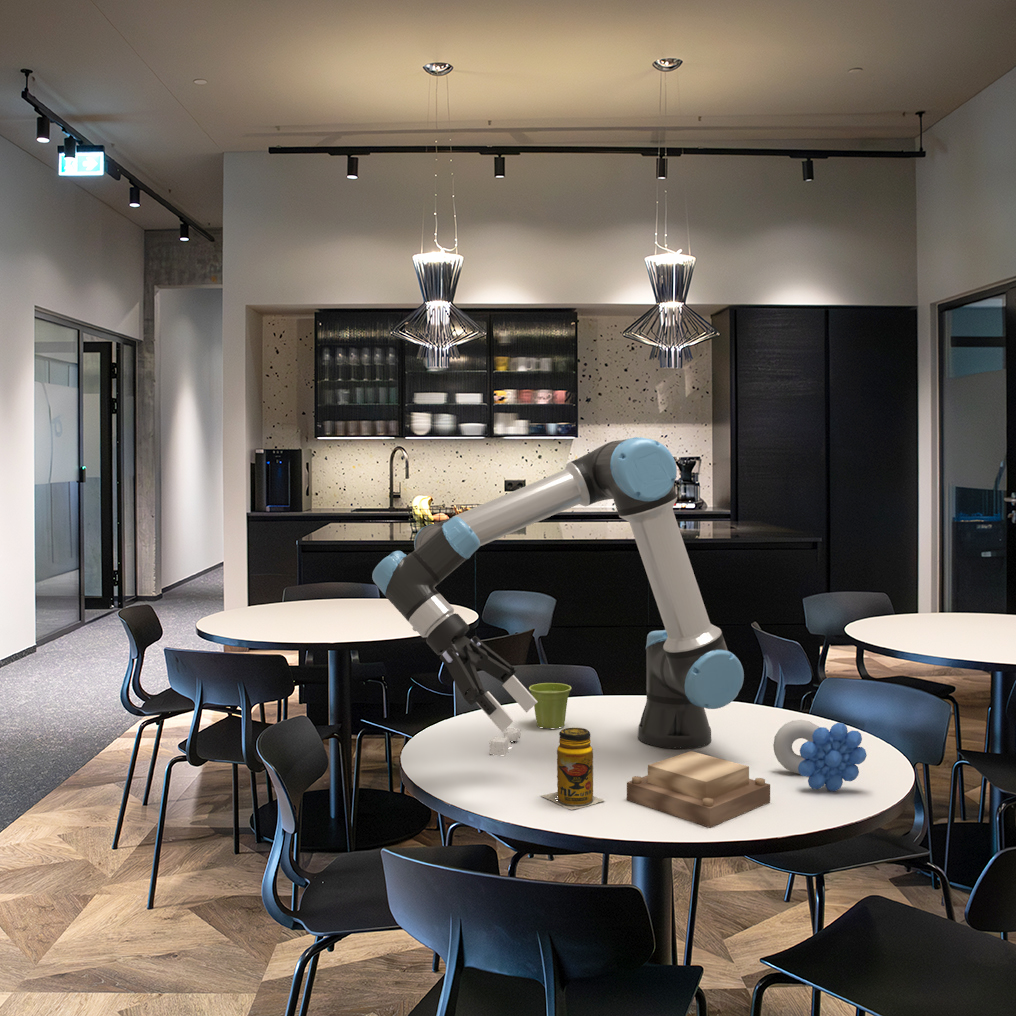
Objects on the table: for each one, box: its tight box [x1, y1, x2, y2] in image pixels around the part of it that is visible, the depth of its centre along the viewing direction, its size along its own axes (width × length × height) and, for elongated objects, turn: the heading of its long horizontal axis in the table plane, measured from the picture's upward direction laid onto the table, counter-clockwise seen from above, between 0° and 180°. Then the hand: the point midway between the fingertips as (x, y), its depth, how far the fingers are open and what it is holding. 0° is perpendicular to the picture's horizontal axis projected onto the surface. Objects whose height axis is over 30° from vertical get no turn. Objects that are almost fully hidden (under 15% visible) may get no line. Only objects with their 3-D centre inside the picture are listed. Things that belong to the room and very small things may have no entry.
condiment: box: [541, 727, 606, 811], centre depth 156 cm, size 7×8×12 cm
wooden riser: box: [626, 750, 771, 828], centre depth 155 cm, size 17×17×6 cm
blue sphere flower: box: [798, 722, 868, 792], centre depth 160 cm, size 12×7×12 cm, turn 87°
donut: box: [772, 719, 820, 775], centre depth 169 cm, size 10×4×10 cm, turn 79°
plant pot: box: [528, 682, 572, 729], centre depth 203 cm, size 9×9×9 cm
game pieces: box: [489, 726, 522, 756], centre depth 187 cm, size 12×3×3 cm, turn 163°
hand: (520, 716), depth 158 cm, fingers open, 13 cm apart
